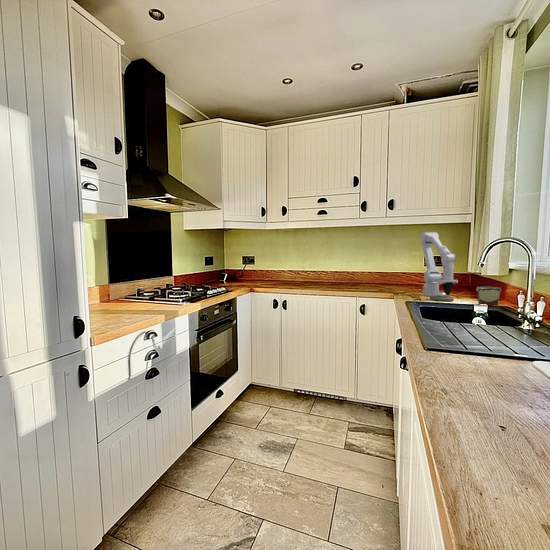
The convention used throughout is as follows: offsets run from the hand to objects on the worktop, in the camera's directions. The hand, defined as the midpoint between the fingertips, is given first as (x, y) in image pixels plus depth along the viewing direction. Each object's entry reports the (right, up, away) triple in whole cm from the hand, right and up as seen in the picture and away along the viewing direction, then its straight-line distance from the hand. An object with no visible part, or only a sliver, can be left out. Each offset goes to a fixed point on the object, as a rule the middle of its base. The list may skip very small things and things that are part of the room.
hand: (447, 294), depth 189 cm
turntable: (-5, -3, -2) cm, 6 cm away
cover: (-5, -1, -1) cm, 5 cm away
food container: (+10, -5, -20) cm, 23 cm away
